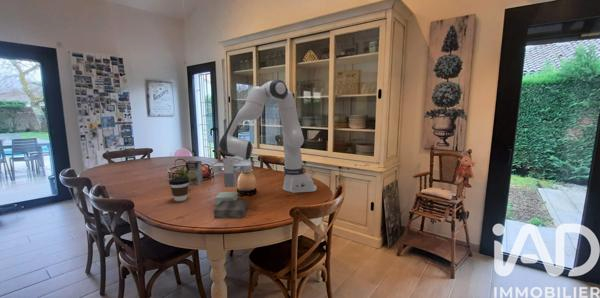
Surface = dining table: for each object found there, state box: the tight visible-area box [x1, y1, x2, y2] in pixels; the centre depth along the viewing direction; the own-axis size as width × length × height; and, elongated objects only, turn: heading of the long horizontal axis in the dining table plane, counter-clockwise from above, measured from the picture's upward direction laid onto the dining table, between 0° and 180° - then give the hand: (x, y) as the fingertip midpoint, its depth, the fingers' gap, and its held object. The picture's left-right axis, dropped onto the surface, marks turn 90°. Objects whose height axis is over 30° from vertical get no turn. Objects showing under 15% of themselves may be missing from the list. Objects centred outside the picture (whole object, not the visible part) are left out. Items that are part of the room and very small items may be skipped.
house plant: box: [172, 166, 191, 192], centre depth 180 cm, size 14×14×16 cm
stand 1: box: [214, 191, 238, 206], centre depth 159 cm, size 10×10×4 cm
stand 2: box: [213, 199, 249, 219], centre depth 143 cm, size 14×14×4 cm
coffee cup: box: [168, 177, 189, 202], centre depth 163 cm, size 11×11×12 cm
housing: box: [222, 157, 237, 188], centre depth 140 cm, size 5×5×14 cm
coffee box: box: [185, 160, 203, 186], centre depth 196 cm, size 9×6×16 cm
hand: (229, 170), depth 139 cm, fingers closed on housing, 5 cm apart
